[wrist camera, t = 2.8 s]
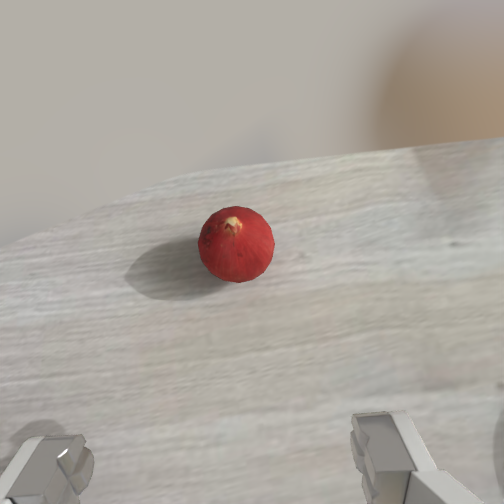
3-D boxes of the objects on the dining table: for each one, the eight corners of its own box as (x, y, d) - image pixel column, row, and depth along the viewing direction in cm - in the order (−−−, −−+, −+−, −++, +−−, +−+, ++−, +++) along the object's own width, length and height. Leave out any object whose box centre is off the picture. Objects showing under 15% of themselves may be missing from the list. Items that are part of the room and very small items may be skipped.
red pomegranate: (201, 285, 27) (174, 255, 19) (216, 225, 29) (197, 176, 21) (267, 297, 26) (266, 270, 19) (278, 235, 28) (281, 188, 20)
